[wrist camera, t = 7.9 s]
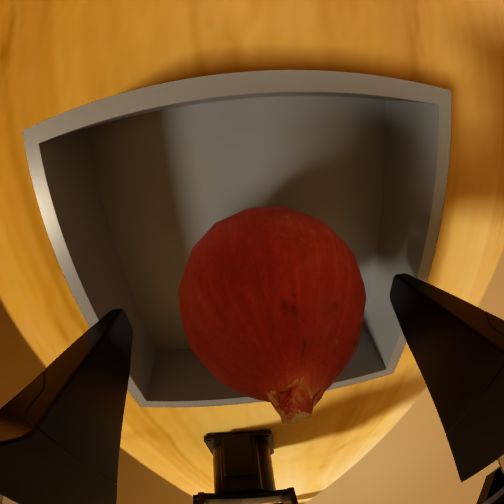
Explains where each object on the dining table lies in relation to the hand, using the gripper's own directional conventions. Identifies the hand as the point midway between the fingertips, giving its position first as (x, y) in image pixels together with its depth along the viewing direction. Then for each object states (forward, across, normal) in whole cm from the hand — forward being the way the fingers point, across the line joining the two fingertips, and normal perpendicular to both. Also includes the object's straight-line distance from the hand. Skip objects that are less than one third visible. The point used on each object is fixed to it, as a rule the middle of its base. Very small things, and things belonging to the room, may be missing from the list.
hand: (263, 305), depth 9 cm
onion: (+4, 0, 0) cm, 4 cm away
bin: (+5, 0, 0) cm, 5 cm away
